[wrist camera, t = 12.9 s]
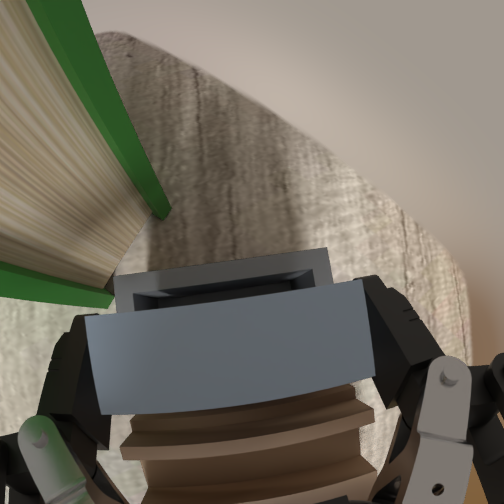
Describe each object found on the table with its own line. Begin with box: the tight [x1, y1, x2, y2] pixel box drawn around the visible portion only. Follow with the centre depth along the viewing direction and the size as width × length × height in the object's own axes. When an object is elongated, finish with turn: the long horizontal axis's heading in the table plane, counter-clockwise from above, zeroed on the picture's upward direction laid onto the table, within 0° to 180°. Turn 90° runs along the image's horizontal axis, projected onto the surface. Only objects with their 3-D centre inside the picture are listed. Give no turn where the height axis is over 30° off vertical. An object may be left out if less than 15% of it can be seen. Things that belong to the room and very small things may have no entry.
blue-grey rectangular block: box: [85, 279, 375, 415], centre depth 12 cm, size 2×6×12 cm, turn 98°
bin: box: [113, 247, 334, 313], centre depth 15 cm, size 6×9×6 cm, turn 99°
